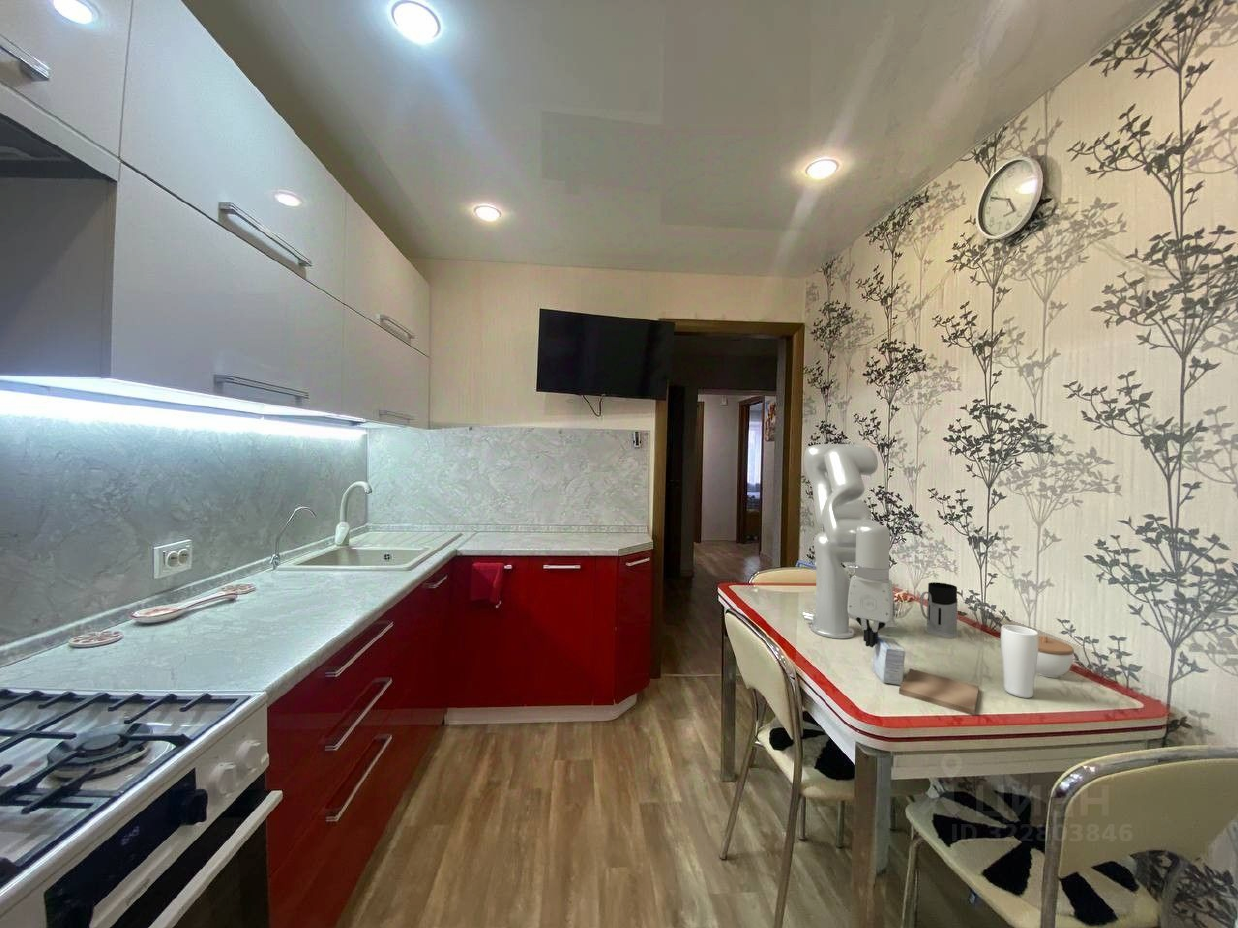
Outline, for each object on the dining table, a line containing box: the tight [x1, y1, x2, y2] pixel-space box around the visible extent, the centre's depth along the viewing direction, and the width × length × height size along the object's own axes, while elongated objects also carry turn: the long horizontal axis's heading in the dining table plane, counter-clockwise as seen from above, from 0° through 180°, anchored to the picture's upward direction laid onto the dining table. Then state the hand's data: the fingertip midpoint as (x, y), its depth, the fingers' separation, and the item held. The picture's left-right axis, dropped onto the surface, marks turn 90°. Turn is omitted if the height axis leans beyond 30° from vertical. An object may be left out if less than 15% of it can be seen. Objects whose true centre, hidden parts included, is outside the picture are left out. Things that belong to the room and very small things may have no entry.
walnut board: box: [898, 668, 980, 716], centre depth 111 cm, size 14×14×1 cm
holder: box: [919, 581, 959, 639], centre depth 149 cm, size 9×14×15 cm, turn 113°
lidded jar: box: [1035, 635, 1074, 679], centre depth 123 cm, size 11×11×9 cm
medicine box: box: [872, 636, 906, 686], centre depth 118 cm, size 8×4×9 cm, turn 168°
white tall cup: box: [1000, 624, 1039, 699], centre depth 111 cm, size 7×7×15 cm
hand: (870, 645), depth 121 cm, fingers closed
